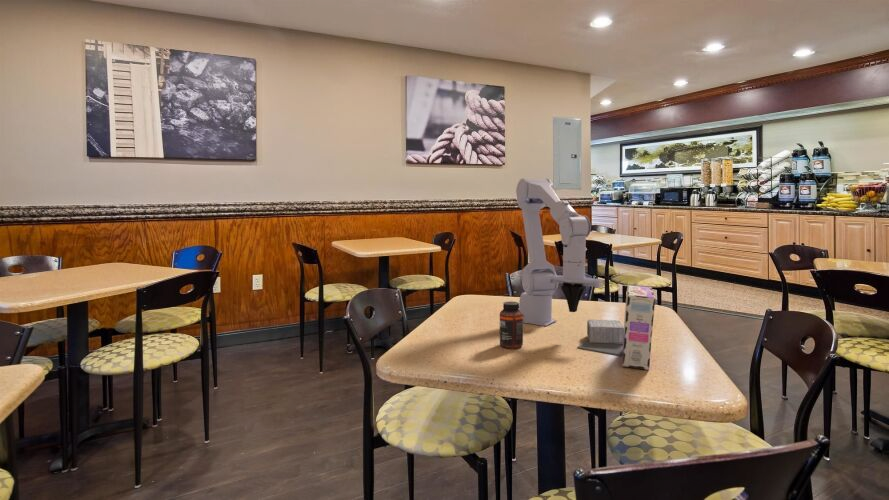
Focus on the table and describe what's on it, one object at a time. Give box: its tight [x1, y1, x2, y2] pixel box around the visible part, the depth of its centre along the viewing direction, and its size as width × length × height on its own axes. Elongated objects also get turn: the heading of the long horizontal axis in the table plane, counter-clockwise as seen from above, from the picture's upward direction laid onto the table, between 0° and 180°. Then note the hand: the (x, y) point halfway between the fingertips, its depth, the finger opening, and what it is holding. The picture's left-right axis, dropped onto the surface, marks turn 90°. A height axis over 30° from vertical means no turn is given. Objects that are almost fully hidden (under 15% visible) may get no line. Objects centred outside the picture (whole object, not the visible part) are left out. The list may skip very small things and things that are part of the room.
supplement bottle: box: [499, 300, 524, 350], centre depth 127 cm, size 6×6×11 cm
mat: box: [576, 339, 623, 357], centre depth 128 cm, size 11×16×1 cm
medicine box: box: [586, 319, 624, 344], centre depth 131 cm, size 8×4×9 cm
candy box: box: [622, 284, 656, 371], centre depth 115 cm, size 14×6×16 cm, turn 160°
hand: (573, 311), depth 133 cm, fingers closed
